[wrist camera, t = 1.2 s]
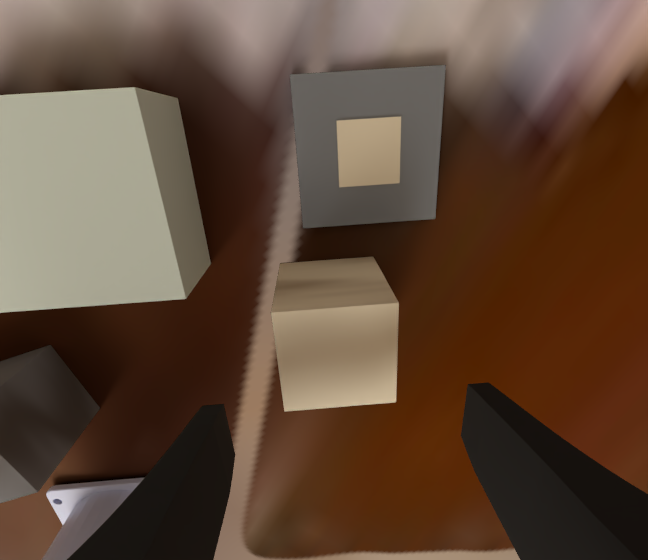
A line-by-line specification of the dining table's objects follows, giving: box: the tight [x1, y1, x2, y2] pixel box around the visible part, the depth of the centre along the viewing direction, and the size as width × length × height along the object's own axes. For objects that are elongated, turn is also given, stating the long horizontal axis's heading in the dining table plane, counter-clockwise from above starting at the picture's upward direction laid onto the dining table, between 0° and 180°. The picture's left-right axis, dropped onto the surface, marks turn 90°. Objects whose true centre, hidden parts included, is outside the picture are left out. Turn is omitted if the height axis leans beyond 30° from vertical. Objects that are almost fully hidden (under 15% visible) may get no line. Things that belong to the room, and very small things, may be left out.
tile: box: [290, 65, 446, 228], centre depth 15 cm, size 6×6×1 cm
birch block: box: [271, 257, 399, 412], centre depth 15 cm, size 4×4×5 cm
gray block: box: [0, 345, 100, 503], centre depth 17 cm, size 4×4×5 cm
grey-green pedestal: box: [0, 87, 211, 313], centre depth 13 cm, size 7×7×4 cm
